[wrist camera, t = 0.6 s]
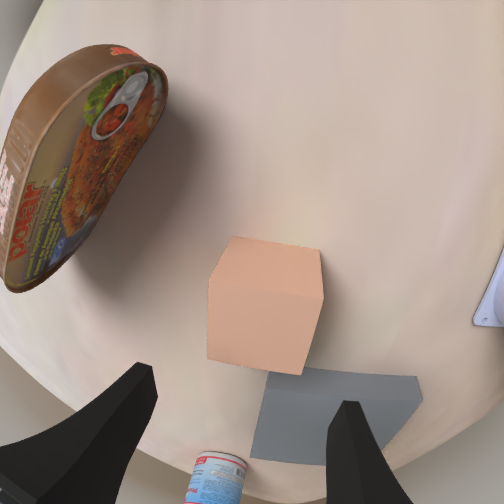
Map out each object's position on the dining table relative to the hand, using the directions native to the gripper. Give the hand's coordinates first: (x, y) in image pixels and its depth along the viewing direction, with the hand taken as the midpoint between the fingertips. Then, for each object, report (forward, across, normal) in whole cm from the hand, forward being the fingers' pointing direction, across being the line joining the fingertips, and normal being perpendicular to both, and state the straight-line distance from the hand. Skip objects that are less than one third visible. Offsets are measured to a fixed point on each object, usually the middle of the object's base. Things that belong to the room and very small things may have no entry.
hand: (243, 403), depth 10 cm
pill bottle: (+9, +2, +27) cm, 29 cm away
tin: (+9, +11, -6) cm, 16 cm away
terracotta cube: (+9, 0, 0) cm, 9 cm away
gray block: (+10, -7, +13) cm, 18 cm away
